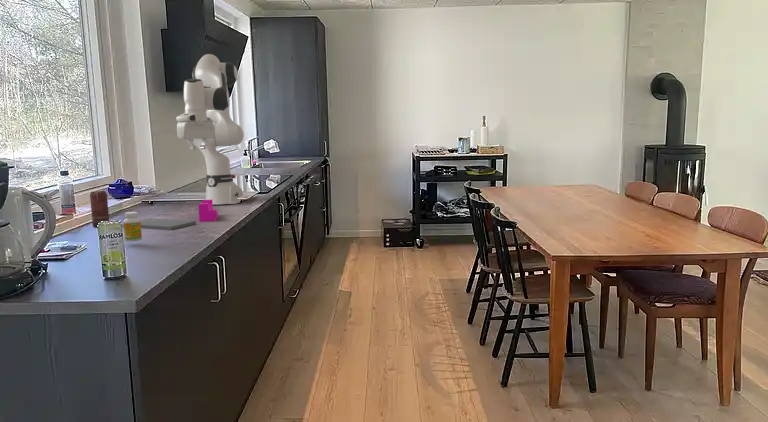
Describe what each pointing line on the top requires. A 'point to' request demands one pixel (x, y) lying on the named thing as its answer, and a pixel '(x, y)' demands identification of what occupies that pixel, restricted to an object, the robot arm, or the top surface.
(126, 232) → the supplement bottle
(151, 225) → the slate pad
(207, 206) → the toy block
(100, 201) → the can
